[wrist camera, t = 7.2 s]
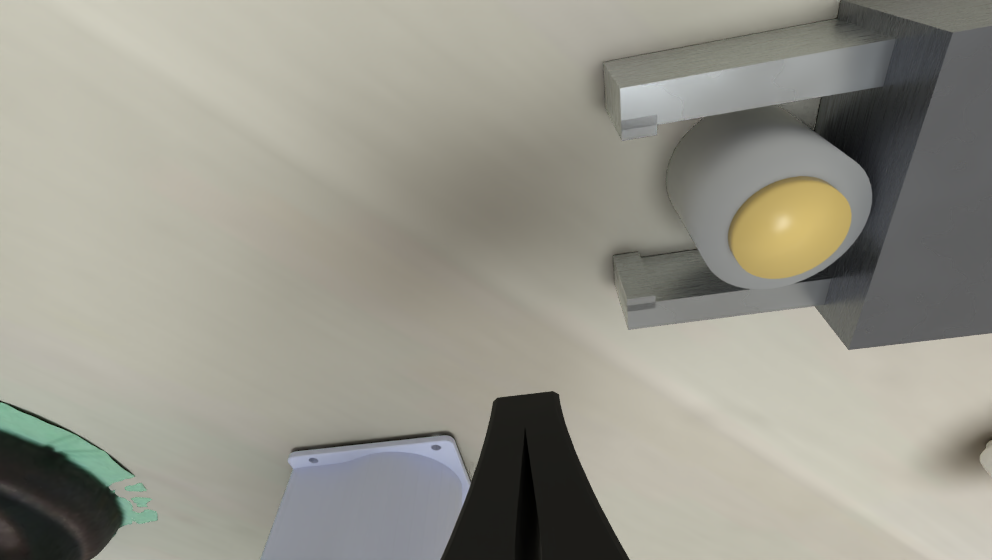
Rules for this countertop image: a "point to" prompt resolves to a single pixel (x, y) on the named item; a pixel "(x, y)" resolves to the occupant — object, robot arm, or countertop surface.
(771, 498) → the countertop surface
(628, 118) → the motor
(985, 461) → the lightbulb
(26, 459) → the dark brimmed hat
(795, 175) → the grey round piece
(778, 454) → the countertop surface
